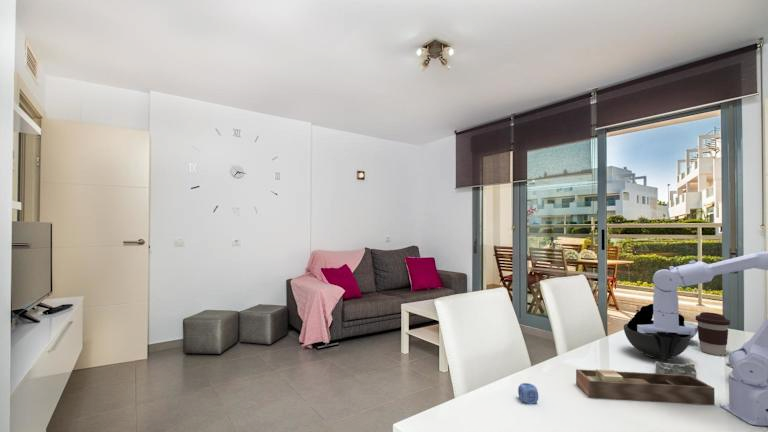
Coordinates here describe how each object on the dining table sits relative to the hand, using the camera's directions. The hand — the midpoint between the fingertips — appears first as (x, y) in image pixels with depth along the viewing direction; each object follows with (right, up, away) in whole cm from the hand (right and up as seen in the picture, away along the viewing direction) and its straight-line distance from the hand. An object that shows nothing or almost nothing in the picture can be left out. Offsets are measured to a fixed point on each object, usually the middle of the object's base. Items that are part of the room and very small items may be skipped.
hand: (666, 358), depth 102 cm
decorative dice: (-42, -10, -5) cm, 43 cm away
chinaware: (+45, -13, +51) cm, 69 cm away
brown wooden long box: (-7, -10, 0) cm, 12 cm away
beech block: (-16, -7, +1) cm, 17 cm away
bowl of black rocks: (+21, -12, +31) cm, 39 cm away
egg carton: (+14, -12, +14) cm, 23 cm away
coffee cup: (+47, -13, +37) cm, 61 cm away
